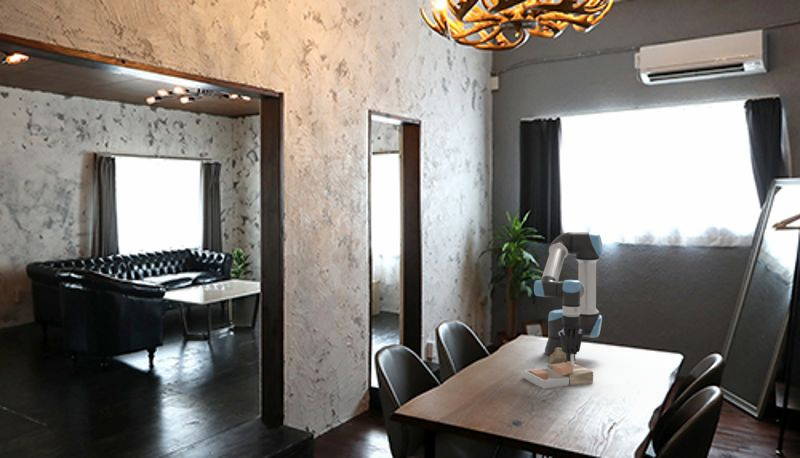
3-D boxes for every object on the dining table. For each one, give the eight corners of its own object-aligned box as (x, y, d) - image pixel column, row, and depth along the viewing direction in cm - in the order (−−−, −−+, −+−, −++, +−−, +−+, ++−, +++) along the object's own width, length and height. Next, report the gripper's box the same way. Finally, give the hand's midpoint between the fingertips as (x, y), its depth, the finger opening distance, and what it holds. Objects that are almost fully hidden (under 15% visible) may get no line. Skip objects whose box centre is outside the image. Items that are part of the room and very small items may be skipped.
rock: (576, 356, 276) (558, 342, 280) (567, 364, 266) (549, 350, 270) (564, 372, 280) (547, 359, 285) (555, 381, 270) (538, 367, 274)
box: (523, 378, 261) (523, 370, 261) (548, 375, 265) (548, 367, 265) (543, 388, 246) (543, 380, 246) (568, 385, 250) (569, 377, 250)
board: (548, 375, 265) (549, 364, 265) (571, 372, 269) (571, 362, 269) (569, 385, 250) (570, 374, 250) (592, 382, 254) (593, 371, 254)
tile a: (541, 369, 263) (541, 375, 263) (529, 370, 261) (529, 376, 261) (548, 372, 257) (548, 379, 257) (536, 374, 255) (536, 380, 255)
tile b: (553, 371, 255) (553, 365, 255) (565, 368, 257) (564, 362, 257) (562, 375, 250) (561, 368, 249) (573, 372, 252) (572, 365, 251)
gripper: (563, 317, 248) (563, 371, 249) (589, 315, 252) (588, 369, 253) (553, 314, 255) (553, 367, 256) (578, 312, 259) (577, 364, 260)
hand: (570, 368), depth 255 cm, fingers closed
